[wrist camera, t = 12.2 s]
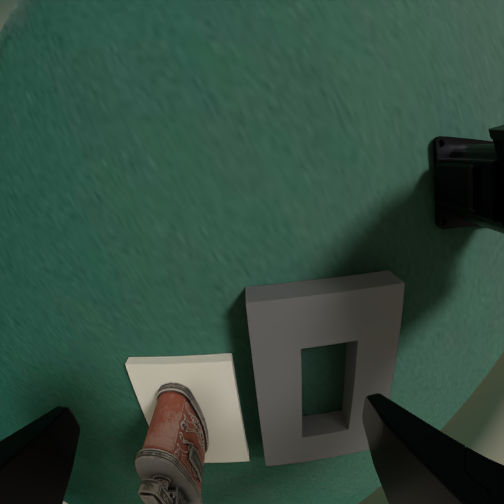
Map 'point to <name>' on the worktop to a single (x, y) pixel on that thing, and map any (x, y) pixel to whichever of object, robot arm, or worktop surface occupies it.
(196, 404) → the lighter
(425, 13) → the worktop surface
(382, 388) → the grey rectangular frame
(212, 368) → the rubber mat
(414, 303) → the worktop surface
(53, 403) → the worktop surface
